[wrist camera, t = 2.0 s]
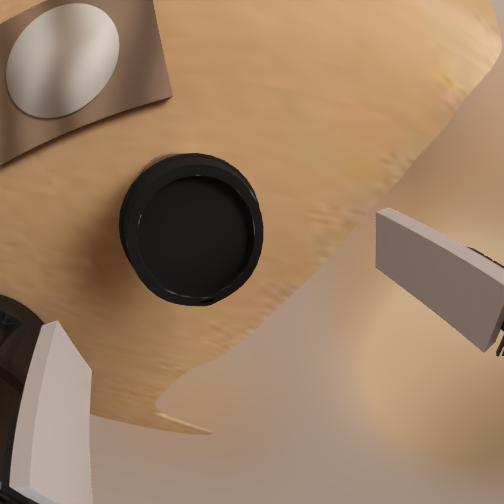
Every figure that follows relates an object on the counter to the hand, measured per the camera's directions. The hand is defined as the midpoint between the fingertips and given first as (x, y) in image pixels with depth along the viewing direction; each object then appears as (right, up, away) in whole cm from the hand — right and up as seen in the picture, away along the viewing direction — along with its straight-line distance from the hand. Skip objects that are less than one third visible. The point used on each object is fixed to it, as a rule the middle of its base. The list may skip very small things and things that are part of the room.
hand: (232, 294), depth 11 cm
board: (-16, +19, +8) cm, 26 cm away
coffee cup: (-7, +8, +17) cm, 20 cm away
